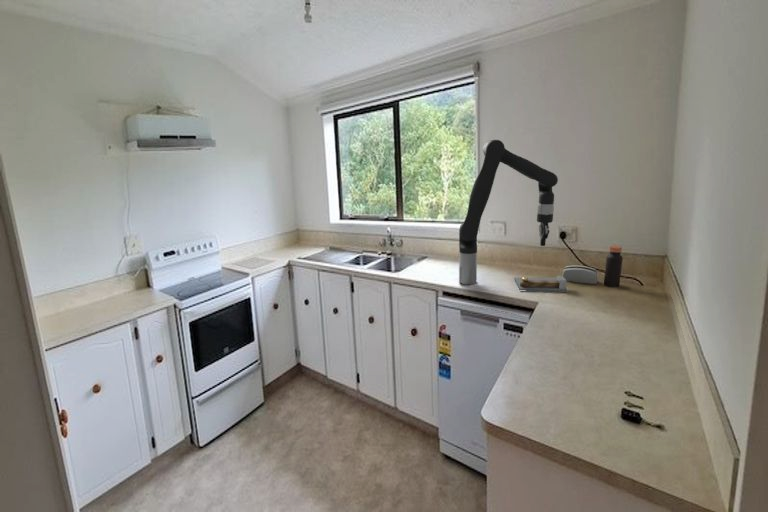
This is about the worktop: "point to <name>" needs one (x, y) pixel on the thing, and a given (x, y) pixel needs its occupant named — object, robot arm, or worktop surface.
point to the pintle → (525, 279)
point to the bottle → (613, 267)
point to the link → (539, 283)
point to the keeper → (561, 282)
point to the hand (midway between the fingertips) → (542, 245)
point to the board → (547, 289)
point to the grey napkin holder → (580, 274)
